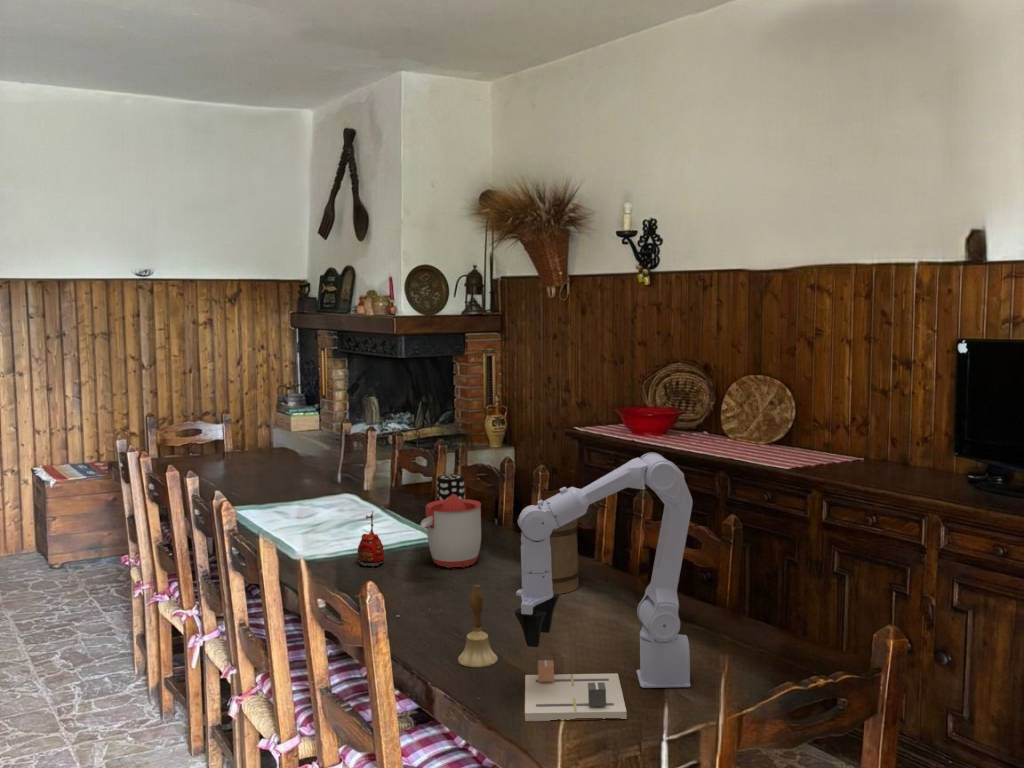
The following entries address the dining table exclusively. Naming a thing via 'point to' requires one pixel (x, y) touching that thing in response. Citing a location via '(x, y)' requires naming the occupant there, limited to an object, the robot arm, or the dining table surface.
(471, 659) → the hand bell
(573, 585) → the wooden container
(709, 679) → the dining table surface
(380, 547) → the red clay folk toy
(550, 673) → the fader terracotta
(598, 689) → the fader charcoal
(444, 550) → the citrus juicer
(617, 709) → the console
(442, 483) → the spotted tube
